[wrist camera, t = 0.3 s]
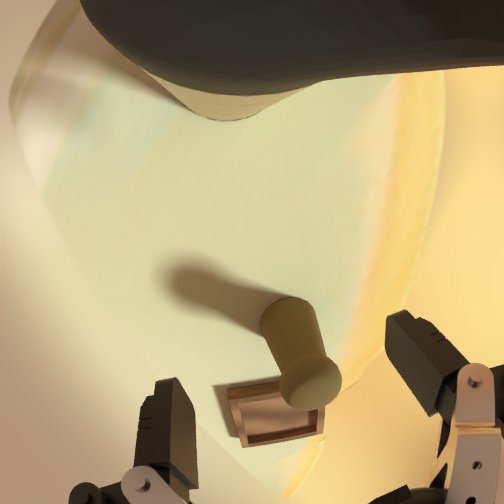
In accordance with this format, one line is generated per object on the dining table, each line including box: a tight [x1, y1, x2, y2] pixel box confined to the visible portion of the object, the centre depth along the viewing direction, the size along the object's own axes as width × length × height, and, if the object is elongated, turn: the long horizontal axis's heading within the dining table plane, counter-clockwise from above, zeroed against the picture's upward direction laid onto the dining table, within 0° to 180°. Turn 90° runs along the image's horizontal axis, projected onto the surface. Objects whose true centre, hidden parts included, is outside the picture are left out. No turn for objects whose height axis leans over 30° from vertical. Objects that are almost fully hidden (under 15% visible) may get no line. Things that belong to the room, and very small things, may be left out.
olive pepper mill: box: [260, 297, 342, 411], centre depth 27 cm, size 6×6×11 cm
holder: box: [227, 382, 325, 448], centre depth 37 cm, size 12×12×2 cm
